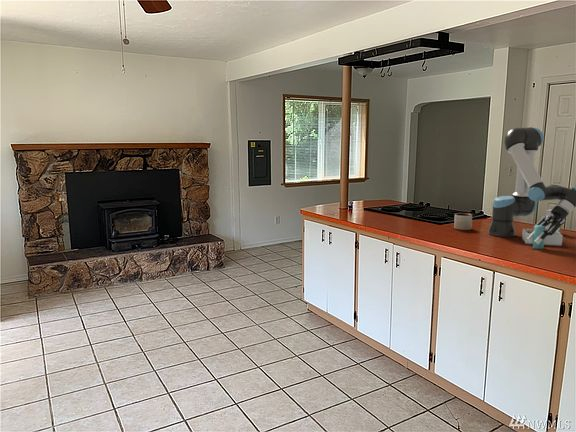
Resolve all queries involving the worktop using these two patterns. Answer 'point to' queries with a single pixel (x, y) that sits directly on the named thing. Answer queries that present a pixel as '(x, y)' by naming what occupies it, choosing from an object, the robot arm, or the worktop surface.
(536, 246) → the teal cylinder
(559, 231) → the syrup box
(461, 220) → the planter
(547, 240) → the grey tote
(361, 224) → the worktop surface
